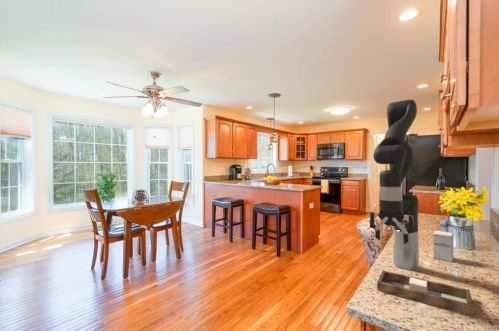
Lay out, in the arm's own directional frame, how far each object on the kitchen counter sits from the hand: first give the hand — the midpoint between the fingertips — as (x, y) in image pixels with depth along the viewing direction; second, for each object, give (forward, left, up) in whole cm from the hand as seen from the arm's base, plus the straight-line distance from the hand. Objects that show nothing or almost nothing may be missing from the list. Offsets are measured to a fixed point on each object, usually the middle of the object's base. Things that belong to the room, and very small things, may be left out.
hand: (391, 241), depth 90 cm
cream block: (+5, +6, -17) cm, 19 cm away
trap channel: (+5, +7, -18) cm, 20 cm away
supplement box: (-28, +42, -18) cm, 54 cm away
